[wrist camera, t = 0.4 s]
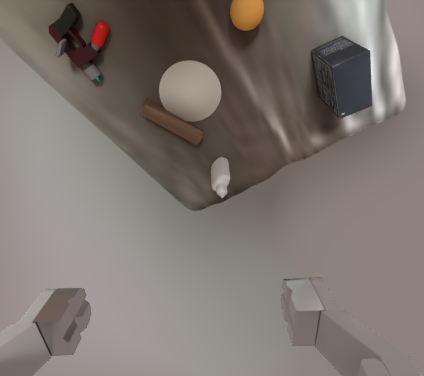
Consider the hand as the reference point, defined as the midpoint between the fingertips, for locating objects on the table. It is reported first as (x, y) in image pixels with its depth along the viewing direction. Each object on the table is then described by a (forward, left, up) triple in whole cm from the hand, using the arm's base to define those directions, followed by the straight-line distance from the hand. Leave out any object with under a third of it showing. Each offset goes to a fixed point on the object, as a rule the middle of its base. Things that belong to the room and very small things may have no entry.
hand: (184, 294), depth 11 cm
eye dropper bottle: (+22, +22, -50) cm, 59 cm away
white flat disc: (+10, +6, -49) cm, 51 cm away
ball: (-8, +6, -47) cm, 48 cm away
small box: (-10, +27, -50) cm, 57 cm away
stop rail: (+18, +6, -49) cm, 53 cm away
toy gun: (+12, -14, -50) cm, 54 cm away
